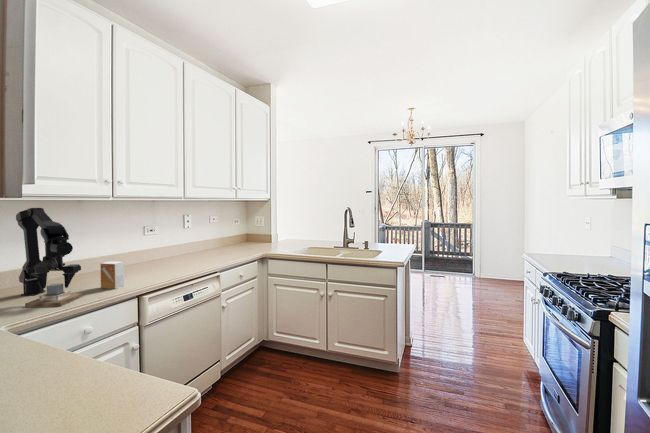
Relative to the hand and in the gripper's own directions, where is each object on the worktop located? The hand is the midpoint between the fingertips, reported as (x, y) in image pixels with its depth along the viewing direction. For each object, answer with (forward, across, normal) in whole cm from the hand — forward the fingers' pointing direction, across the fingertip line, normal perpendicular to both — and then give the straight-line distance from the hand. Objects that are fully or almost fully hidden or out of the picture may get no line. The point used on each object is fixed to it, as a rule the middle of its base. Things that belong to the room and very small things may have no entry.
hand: (55, 287), depth 139 cm
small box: (+6, +12, +22) cm, 26 cm away
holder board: (+6, 0, 0) cm, 6 cm away
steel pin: (+5, 0, 0) cm, 5 cm away
